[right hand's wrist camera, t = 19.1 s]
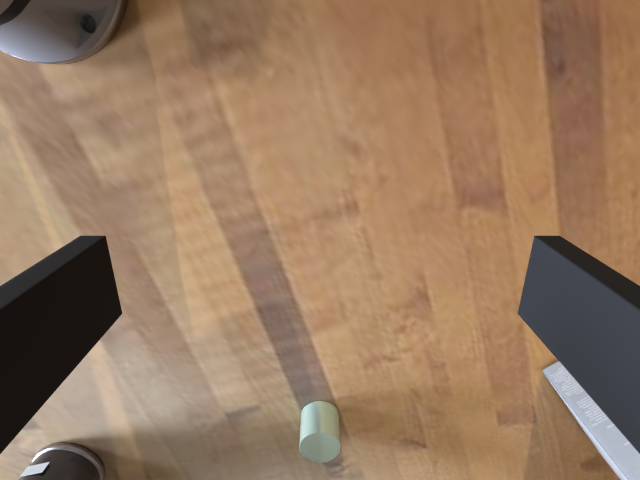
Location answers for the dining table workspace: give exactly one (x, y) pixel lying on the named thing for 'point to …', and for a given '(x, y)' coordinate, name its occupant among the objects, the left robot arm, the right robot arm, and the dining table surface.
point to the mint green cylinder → (319, 432)
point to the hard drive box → (595, 424)
